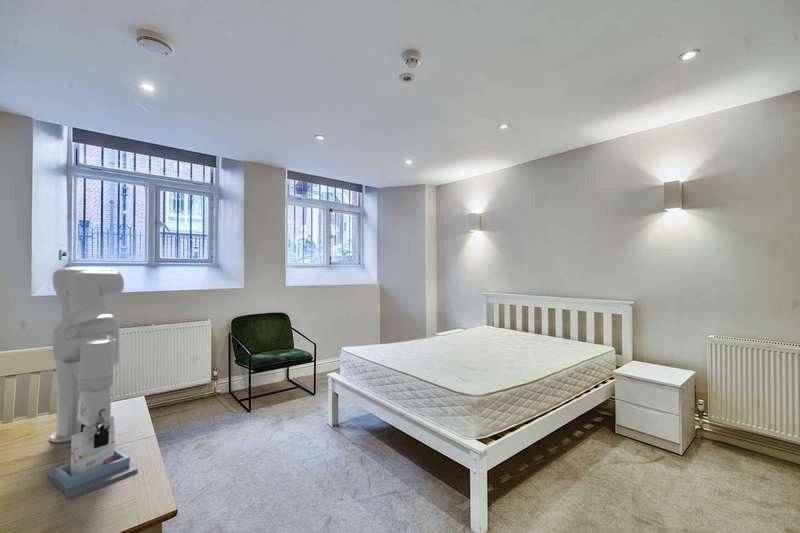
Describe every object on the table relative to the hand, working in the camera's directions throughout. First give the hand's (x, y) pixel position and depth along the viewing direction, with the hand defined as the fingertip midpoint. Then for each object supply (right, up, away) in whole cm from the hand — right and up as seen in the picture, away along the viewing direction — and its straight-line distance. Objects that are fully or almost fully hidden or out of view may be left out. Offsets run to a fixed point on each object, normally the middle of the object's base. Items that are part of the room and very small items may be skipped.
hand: (94, 441), depth 101 cm
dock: (0, -10, 0) cm, 10 cm away
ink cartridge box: (0, -9, 0) cm, 9 cm away
